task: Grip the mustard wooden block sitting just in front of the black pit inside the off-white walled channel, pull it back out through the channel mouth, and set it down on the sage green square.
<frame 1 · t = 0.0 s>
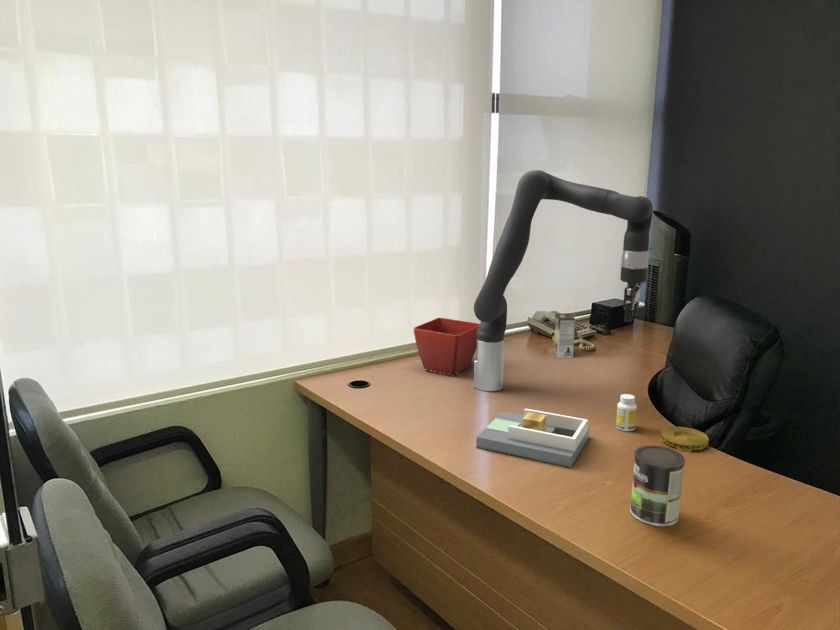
hand: (630, 318, 190), 29 cm above the table, tool pointing down, fingers open, 8 cm apart
coffee box: (563, 355, 251), on the table
gold flat disc: (684, 443, 174), on the table
coffee can: (654, 514, 139), on the table
supplement bottle: (625, 428, 183), on the table
plant pot: (447, 369, 236), on the table
mustard block: (533, 432, 174), point 3 cm above the table, touching walled pit deck
walled pit deck: (533, 442, 175), on the table
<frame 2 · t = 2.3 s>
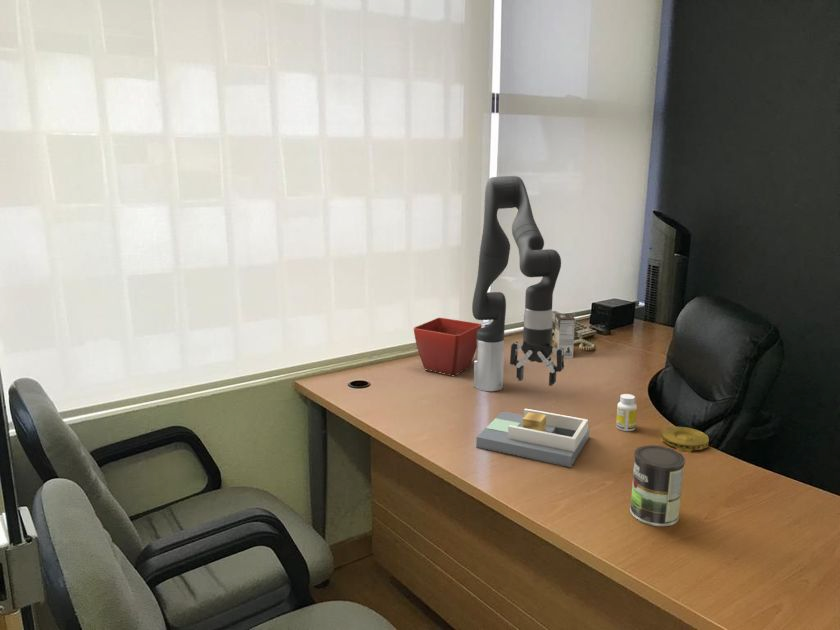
hand: (535, 382, 170), 18 cm above the table, tool pointing down, fingers open, 8 cm apart
nothing on the table moved.
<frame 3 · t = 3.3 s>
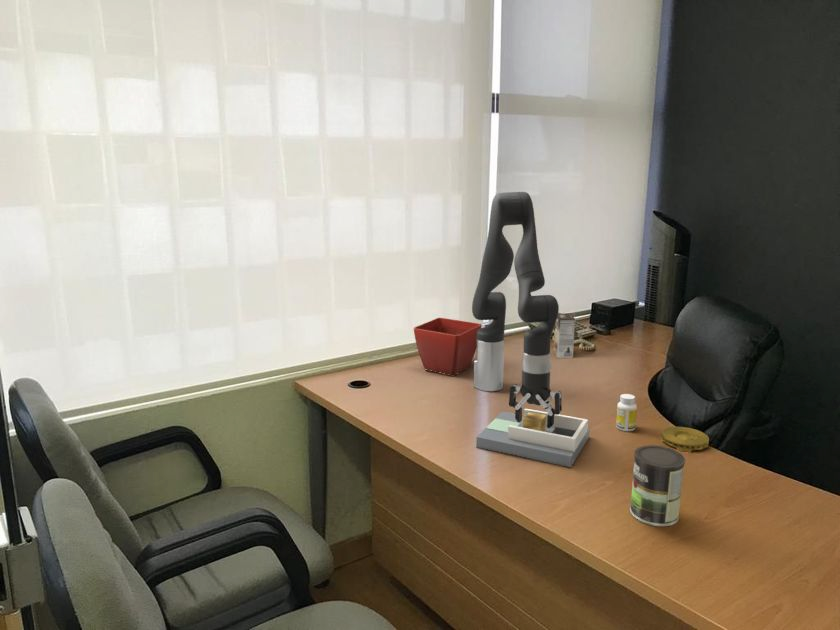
hand: (534, 424, 173), 5 cm above the table, tool pointing down, fingers open, 8 cm apart
nothing on the table moved.
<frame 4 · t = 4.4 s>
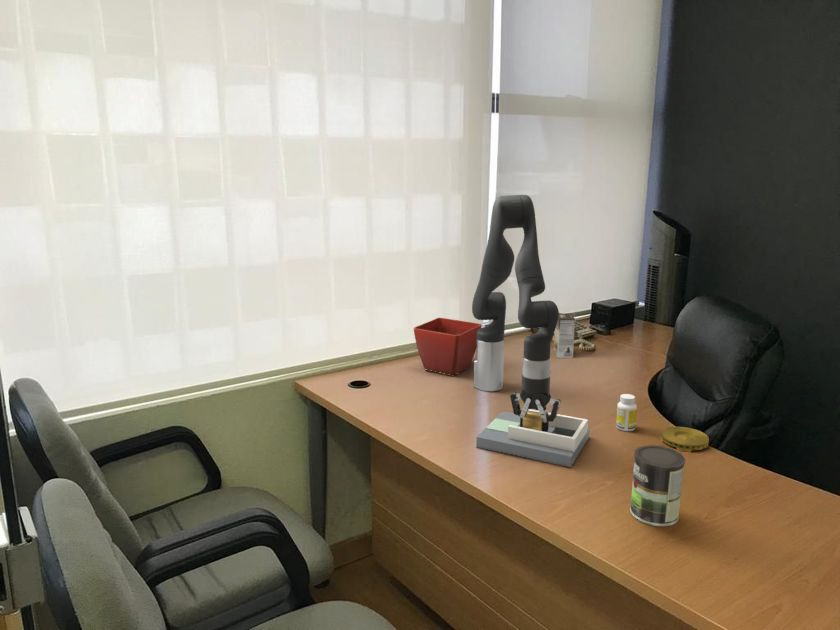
hand: (534, 431, 174), 3 cm above the table, tool pointing down, fingers closed on mustard block, 5 cm apart
mustard block: (533, 432, 174), point 3 cm above the table, touching gripper, walled pit deck
everything else where it was.
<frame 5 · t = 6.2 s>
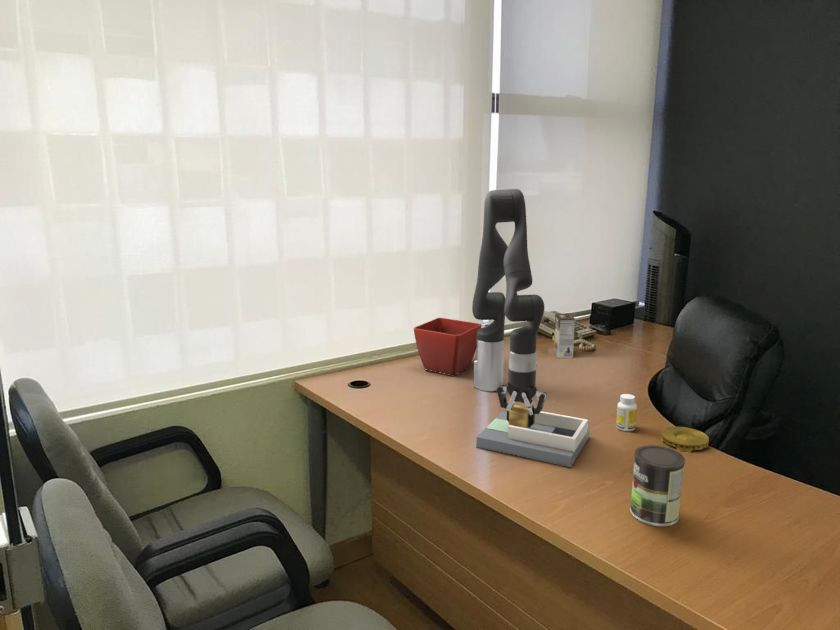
hand: (520, 423, 176), 4 cm above the table, tool pointing down, fingers closed on mustard block, 5 cm apart
mustard block: (520, 424, 176), point 4 cm above the table, touching gripper
everything else where it was.
when the fingers open (4 cm above the table, at t = 7.9 s): mustard block stays where it is, resting on walled pit deck.
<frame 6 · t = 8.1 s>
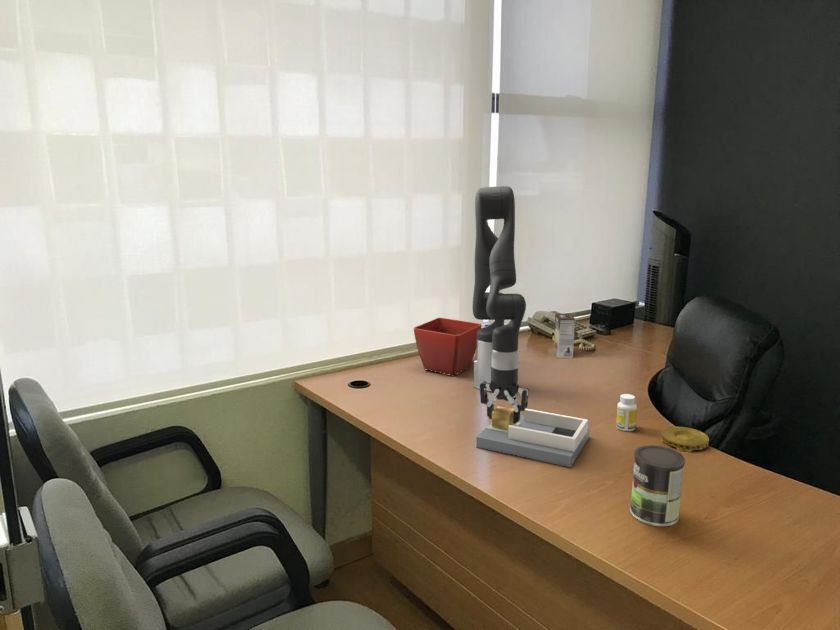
hand: (503, 420, 178), 5 cm above the table, tool pointing down, fingers open, 6 cm apart
mustard block: (503, 425, 178), point 3 cm above the table, touching walled pit deck
everything else where it was.
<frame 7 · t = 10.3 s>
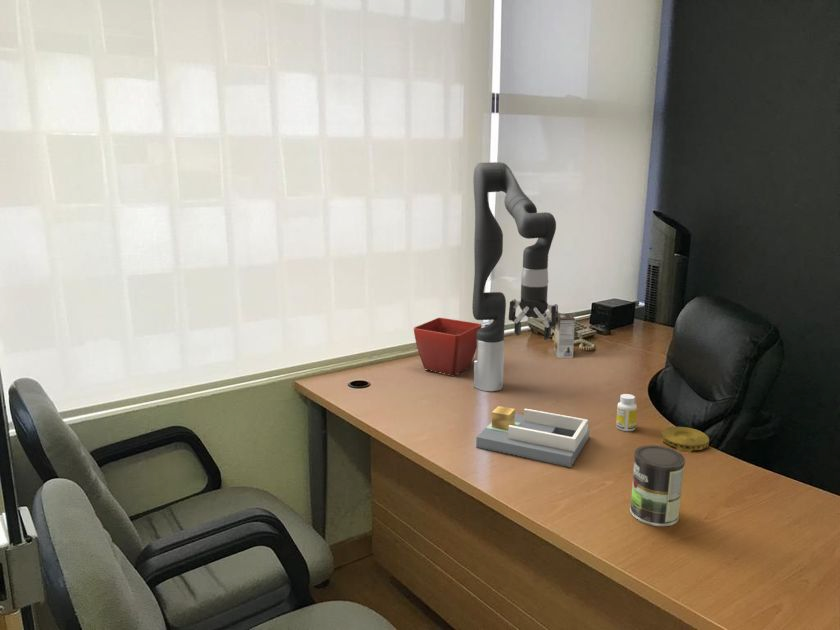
hand: (532, 336, 184), 26 cm above the table, tool pointing down, fingers open, 8 cm apart
nothing on the table moved.
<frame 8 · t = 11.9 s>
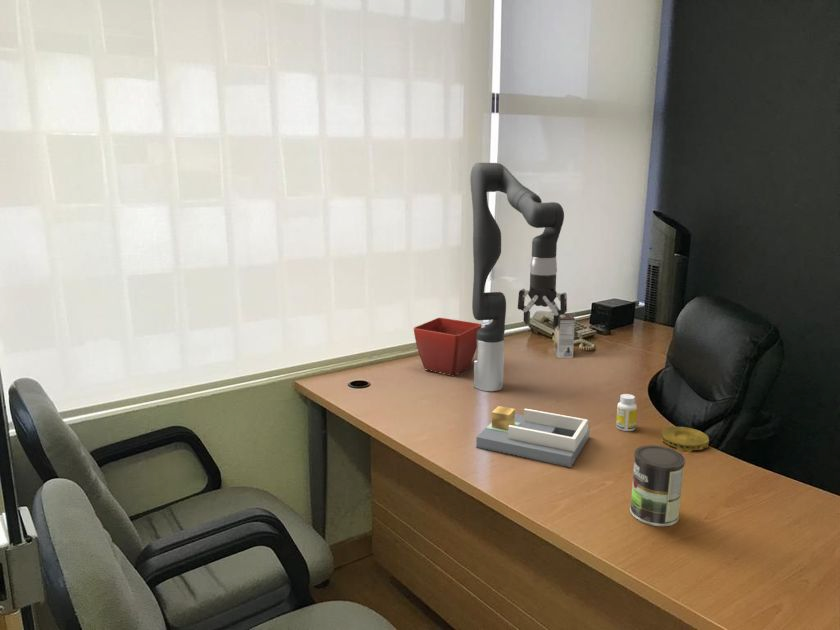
hand: (541, 325, 187), 28 cm above the table, tool pointing down, fingers open, 8 cm apart
nothing on the table moved.
at the end: mustard block inside the target area on the walled pit deck (0.5 cm from its centre), point 3.2 cm above the walled pit deck's base; mustard block tilted 0°; the gripper is holding nothing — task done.
